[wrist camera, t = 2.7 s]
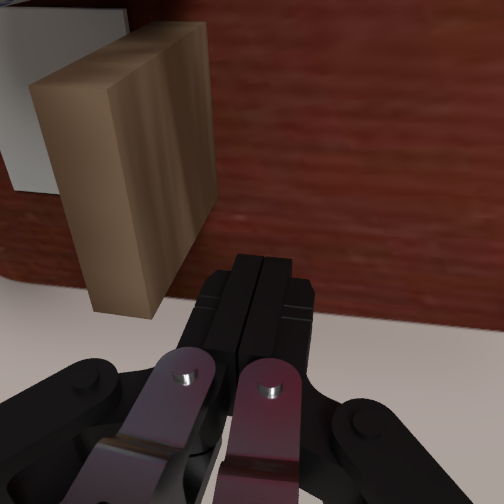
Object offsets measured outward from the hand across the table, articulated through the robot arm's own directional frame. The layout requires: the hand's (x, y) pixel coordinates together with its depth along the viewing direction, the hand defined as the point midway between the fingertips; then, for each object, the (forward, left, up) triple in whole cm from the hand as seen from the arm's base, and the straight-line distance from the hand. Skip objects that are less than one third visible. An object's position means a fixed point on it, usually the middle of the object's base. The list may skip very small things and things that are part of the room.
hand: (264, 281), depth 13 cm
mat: (+13, 0, -12) cm, 18 cm away
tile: (+6, 0, -12) cm, 14 cm away
